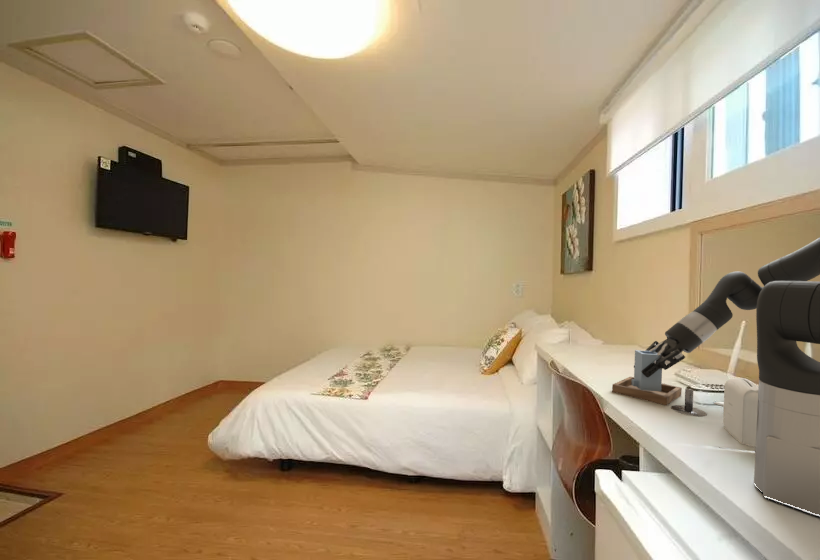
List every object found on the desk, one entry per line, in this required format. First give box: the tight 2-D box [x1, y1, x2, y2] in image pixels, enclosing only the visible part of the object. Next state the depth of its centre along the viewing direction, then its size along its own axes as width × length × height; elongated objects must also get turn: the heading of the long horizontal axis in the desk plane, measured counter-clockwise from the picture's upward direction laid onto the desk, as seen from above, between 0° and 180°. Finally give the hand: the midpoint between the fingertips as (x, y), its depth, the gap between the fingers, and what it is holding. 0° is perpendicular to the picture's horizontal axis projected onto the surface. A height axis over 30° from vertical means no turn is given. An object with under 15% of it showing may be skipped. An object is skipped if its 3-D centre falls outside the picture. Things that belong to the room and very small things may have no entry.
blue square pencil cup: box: [632, 349, 663, 392], centre depth 102 cm, size 5×6×10 cm
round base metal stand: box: [670, 388, 708, 417], centre depth 90 cm, size 7×7×6 cm
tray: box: [612, 376, 683, 407], centre depth 102 cm, size 13×13×2 cm
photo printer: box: [722, 376, 759, 448], centre depth 76 cm, size 10×4×12 cm, turn 157°
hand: (640, 371), depth 102 cm, fingers closed on blue square pencil cup, 5 cm apart
